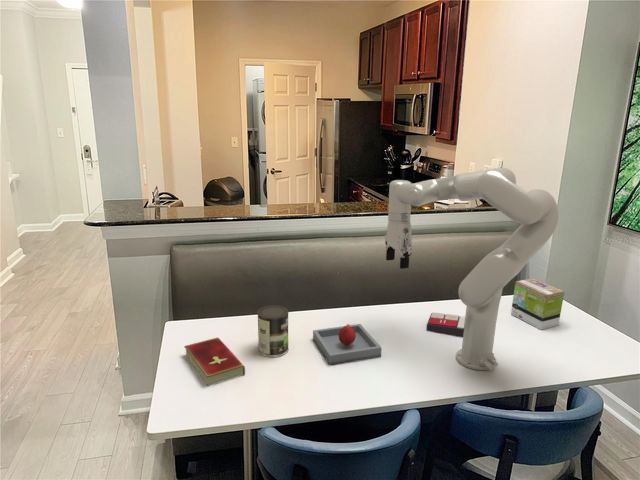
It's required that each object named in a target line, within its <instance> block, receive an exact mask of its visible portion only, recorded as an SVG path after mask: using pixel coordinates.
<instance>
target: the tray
mask: <svg viewBox="0 0 640 480" xmlns="http://www.w3.org/2000/svg"><path fill="white" fill-rule="evenodd" d="M349 325H350V327H351V328H353V330H354V331H355V334H356V337H355V340H354V342H353V343H351V344H350V345H348V346H346V345H344V344H342V343H341V342H340V340H339V336H338V335H339V331H340V330H341V329H342V328H343V327H345V326H346V325H343V326H342V325H341V326H336V327H335V326H334V327H328V328H322V329H321V328H320V329H315V330H312V340H313V342H314V343H315V345H316V346H317V348H318V349H319V351H320V353H321V354H322V355H323V357H324V358H325V360H326V362H327V363H328V365H329V366H334V365H340V364H345V363H346V364H347V363H354V362H359V361H364V360H371V359H376V358H381V357H382V346H381V345H380V344H379V343H378V342H377V340H375V338H373V336H372V335H371V334H370V333H369V332H368V331H367V329H365V327H364V326H363V325H362V324H361V323H355V324H349Z"/></svg>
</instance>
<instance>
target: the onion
mask: <svg viewBox="0 0 640 480" xmlns="http://www.w3.org/2000/svg"><path fill="white" fill-rule="evenodd" d="M350 325H351V324H350V323H346V324H345V325H344V326H345V327H343V328H342V329H341V330H340V331H339V335H338V336H339V340H340V342H341V343H342V344H344V345H346V346H348V345H350V344H351V343H353V342H354V340H355V337H356V334H355V331H354V330H353V328H351V327H350Z"/></svg>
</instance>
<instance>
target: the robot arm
mask: <svg viewBox="0 0 640 480" xmlns="http://www.w3.org/2000/svg"><path fill="white" fill-rule="evenodd" d="M388 189H389V192H388V210H387V211H388V216H387V228H386V234H384V240H385V241H384V243H385V249H386V251H385V252H386V253H385V260H386V261H395V258H396V257H395V256H396V251H399V254H400V255H401V256H400V259H399V268H400V269H403V270H404V269H408V268H410V267H409V266H410V257H411V255H412V253H413V250H414V248H413V245H412V243H413V240H412V239H413V237H412V235H413V233H412V223H411V213H412V212H411V211H412V206H414V207H421V206H424V205H427V204H429V203H432V202H433V203H434V202H440V201H445V200H446V201H447V200H458V201H460V202H469V201H475V200H476V201H477V200H483V201H485V202H486V203H487V204H489V205H490V206H491V207H493V208H494V209H495V210H497V211H499V212H500V213H502V214H503V215H505V216H506V217H507V218H509V219H510V220H512V221H513V222H515V223H517V224H520V226H518V227H517V228H516V229H515V230H514V232H513V233H512V234H511V235H510V236H509V237H508V238H507V240H505V241H504V243H502V244H501V245H500V246H498V247H496V248H495V249H493V251H492V250H491V252H490V253H488V254H487V255H485V256H484V257H483V258H482V259H481V260H480V261H479V262H478V264H477V265H475V266H474V268H473V269H471V271H470V272H469V273H468V274H467V275H466V276H465V278H464V279H463V280H462V281H461V282H460V284H459V287H458V296H459V297H458V298H459V299H460V301H461V302H462V304H463V305H465V306H466V309H465V315H464V317H465V323H464V332H463V337H462V342H461V343H462V344H461V348H460V349H458V350H457V351H456V353H455V359H456V360H457V361H458V363H459V364H460V365H462V366H464V367H466V368H469V369H472V370H475V371H476V370H477V371H488V370H489V371H493V370H494V369H495V367H497V366H498V362H497V359H496V356H495V354H494V353H493V352H494V351H493V349H494V344H495V334H496V327H497V326H496V325H497V322H498V321H497V320H498V313H499V307H500V304H501V298H502V294H503V291H504V288H505V286H507V284H508V283H510V281H511V280H513V279H514V278H515V277H517V275H518V274H520V272H521V271H522V269H523V268H524V267H525V266H526V265H527V263H528V262H529V261H530V260H531V259H532V258H533V257H534V256H535V255H536V254H537V253H538V252H539V251H540V250H541V249H542V248H543V247H544V246H545V244H547V242H548V241H549V240H550V238H551V237H552V236H553V234H554V233H555V230H556V228H557V225H558V221H559V208H558V204H557V202H556V199H555V197H554V196H553V195H552V194H551V193H550V192H549V191H547V190H544V189H541V188H540V189H530V190H529V191H526V190H524V189H523V188H521V187H520V186H518V185H517V178H516V175H515V173H514V172H513V171H512V170H511V169H509V168H507V167H495V168H490V169H489V168H488V169H483V170H477V171H471V172H463V173H459V174H456V175H452V176H445V177H440V178H434V179H427V180H422V181H418V182H415V183H413V182H411V181H409V180H404V179H395V180H392V181H390V183H389V188H388Z"/></svg>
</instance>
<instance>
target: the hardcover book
mask: <svg viewBox="0 0 640 480" xmlns="http://www.w3.org/2000/svg"><path fill="white" fill-rule="evenodd" d="M183 348H185V351H186V352H185V354H186V357H187V359H188V360H189V361H190V363H191V364H192V365H193V366H194V368H195V370H196V371H197V373H198V374H199V376H200V377H201V378H202V379H203V380H204V383H206V385H207V386H208V387H209V386H212V385H215V384H216V385H217V384H218V383H222V382H225V381H228V380H231V379H234V378H237V377H241V376H245V375H246V368H245V365H244V364H243V363H242V362H241V361H240V360H239V359H238V357H237V356H236V355H235V354H234V352H232V350H230V348H229V347H228V346H227V345H226V344H225V343H224V342H223V341H222V340H221V339H220V338H219V337H214V338H210V339H206V340H202V341H199V342H195V343H190V344H186V345H184V347H183Z"/></svg>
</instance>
